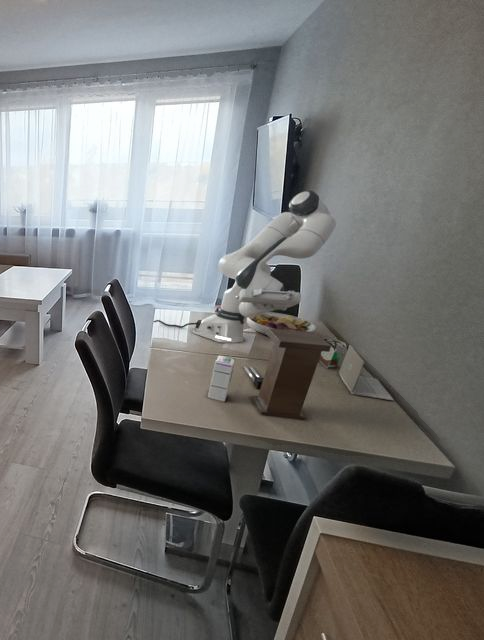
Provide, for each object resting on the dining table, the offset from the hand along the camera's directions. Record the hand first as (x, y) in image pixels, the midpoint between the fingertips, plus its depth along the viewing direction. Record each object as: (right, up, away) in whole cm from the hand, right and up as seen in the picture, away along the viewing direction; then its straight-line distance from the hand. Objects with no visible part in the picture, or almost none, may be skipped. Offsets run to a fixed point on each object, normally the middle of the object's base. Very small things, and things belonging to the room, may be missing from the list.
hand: (277, 291), depth 148 cm
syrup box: (-22, -38, -1) cm, 44 cm away
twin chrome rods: (-1, -32, +12) cm, 34 cm away
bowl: (+40, -11, +63) cm, 75 cm away
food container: (+38, -27, +26) cm, 54 cm away
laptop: (+37, -35, +8) cm, 52 cm away
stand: (-5, -41, -7) cm, 41 cm away
